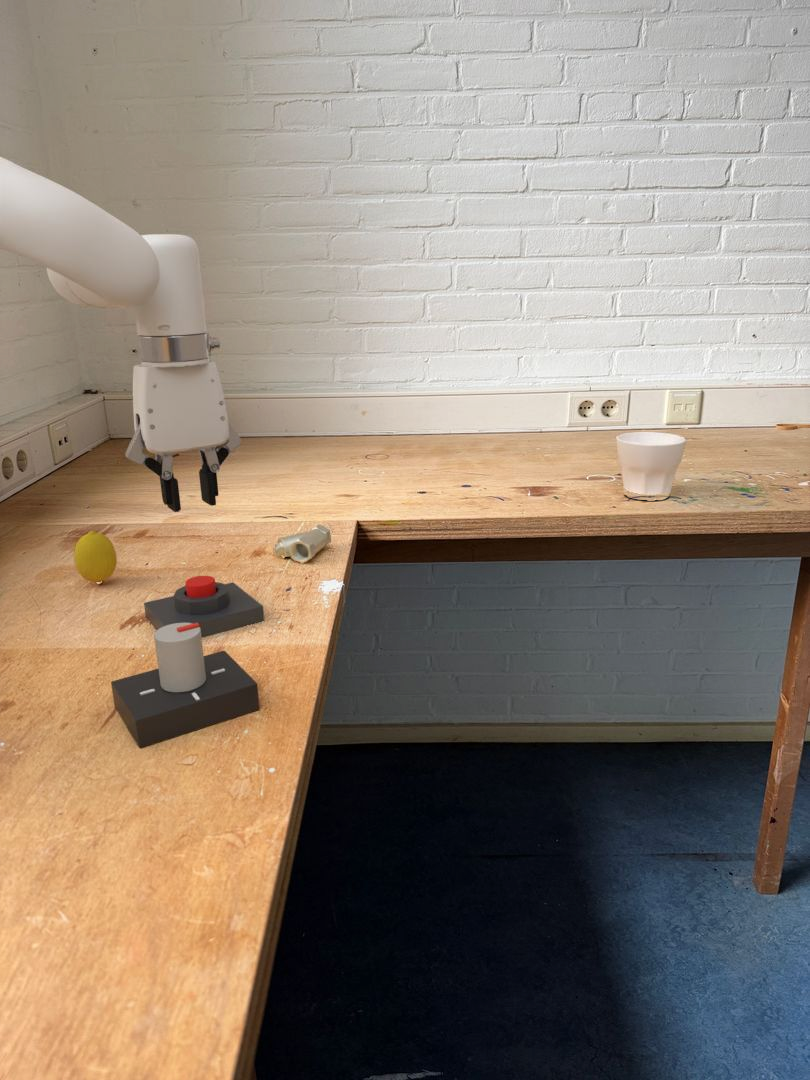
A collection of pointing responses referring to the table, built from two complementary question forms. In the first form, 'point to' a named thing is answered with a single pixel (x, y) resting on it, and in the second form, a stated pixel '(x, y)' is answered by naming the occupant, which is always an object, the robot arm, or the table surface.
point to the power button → (200, 586)
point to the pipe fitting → (303, 544)
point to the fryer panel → (184, 701)
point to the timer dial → (180, 657)
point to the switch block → (207, 610)
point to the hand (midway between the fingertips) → (191, 504)
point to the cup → (649, 461)
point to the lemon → (95, 557)
